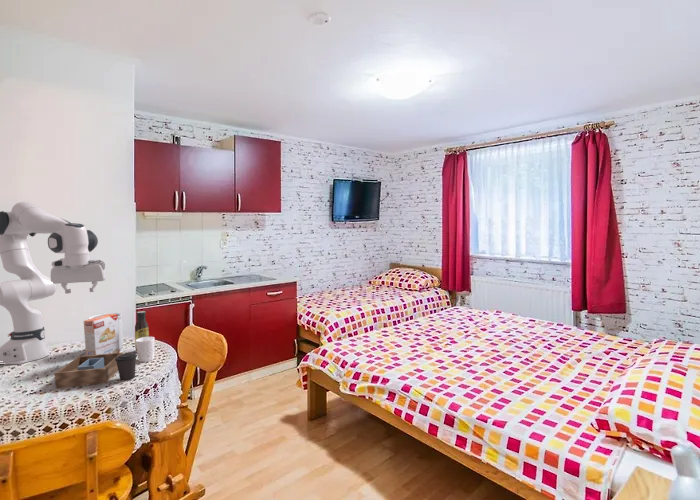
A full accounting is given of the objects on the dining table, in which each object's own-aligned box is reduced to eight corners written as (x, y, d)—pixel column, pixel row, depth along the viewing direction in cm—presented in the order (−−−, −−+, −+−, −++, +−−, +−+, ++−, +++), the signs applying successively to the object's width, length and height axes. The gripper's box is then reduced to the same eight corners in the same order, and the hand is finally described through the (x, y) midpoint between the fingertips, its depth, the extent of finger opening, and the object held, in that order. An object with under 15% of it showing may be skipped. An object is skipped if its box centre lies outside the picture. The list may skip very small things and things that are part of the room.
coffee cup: (142, 373, 165) (140, 351, 164) (132, 381, 156) (130, 357, 156) (123, 374, 164) (121, 351, 164) (112, 382, 156) (110, 358, 155)
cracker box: (97, 366, 175) (93, 321, 174) (86, 365, 177) (82, 320, 175) (121, 355, 189) (117, 313, 187) (110, 354, 190) (107, 313, 189)
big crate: (55, 388, 152) (54, 373, 152) (79, 369, 172) (78, 356, 171) (106, 383, 156) (104, 368, 156) (124, 365, 176) (123, 352, 175)
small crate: (78, 379, 158) (77, 367, 158) (89, 370, 168) (88, 358, 168) (94, 377, 160) (93, 365, 159) (104, 368, 169) (103, 357, 169)
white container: (103, 344, 207) (101, 312, 206) (130, 344, 206) (128, 312, 205) (83, 354, 192) (80, 319, 191) (112, 353, 192) (109, 319, 190)
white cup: (134, 360, 182) (133, 339, 181) (152, 355, 188) (150, 335, 187) (140, 364, 176) (139, 342, 176) (158, 359, 182) (157, 338, 181)
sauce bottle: (139, 353, 191) (137, 314, 190) (133, 351, 194) (130, 312, 193) (152, 349, 197) (150, 311, 195) (145, 347, 200) (143, 310, 198)
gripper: (107, 259, 171) (109, 289, 172) (55, 261, 167) (58, 292, 168) (101, 260, 165) (103, 292, 166) (47, 262, 161) (50, 295, 162)
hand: (80, 292), depth 167 cm, fingers open, 8 cm apart
